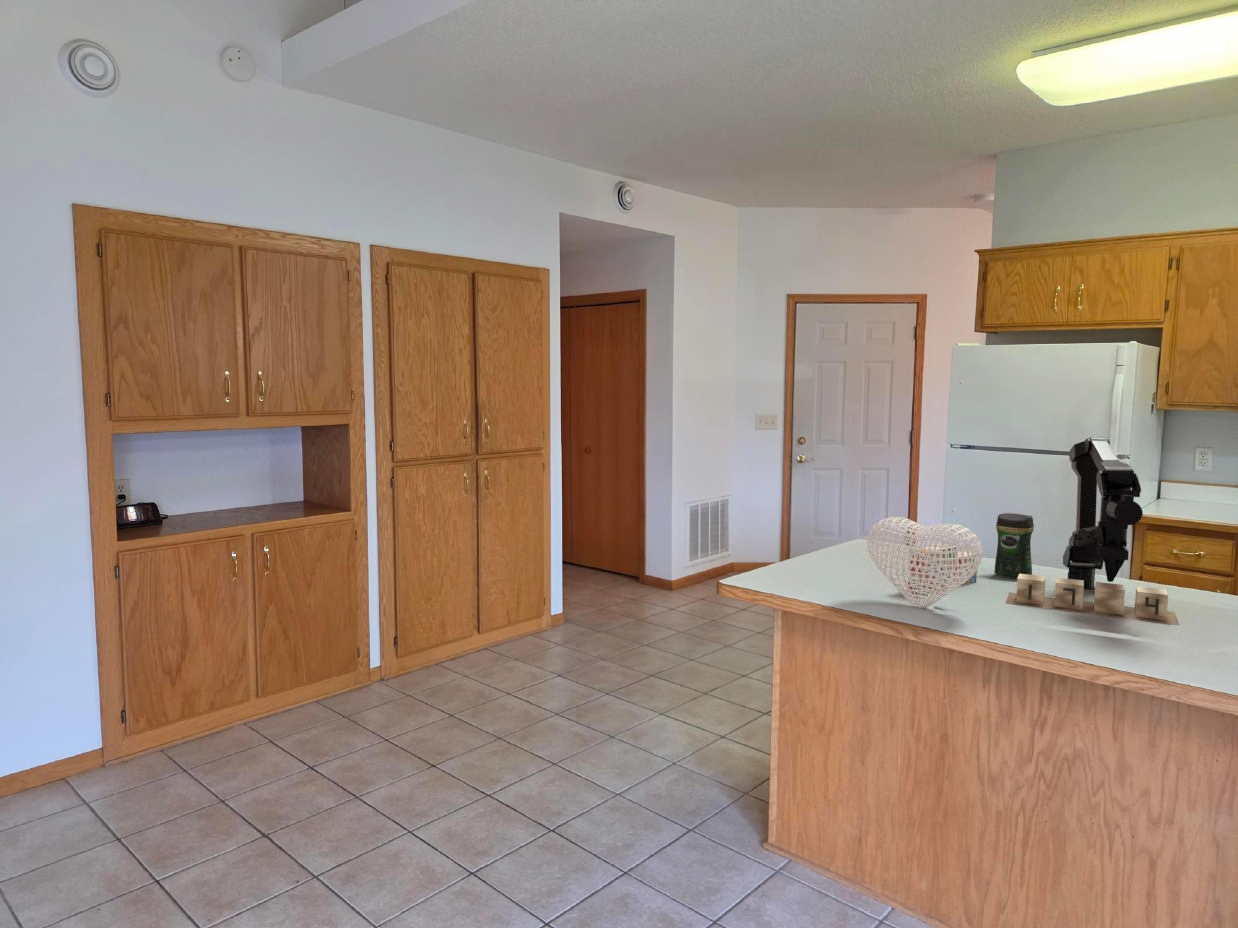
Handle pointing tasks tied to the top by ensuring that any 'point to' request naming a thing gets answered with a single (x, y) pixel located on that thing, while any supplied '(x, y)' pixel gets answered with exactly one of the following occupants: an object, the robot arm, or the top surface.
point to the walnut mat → (1089, 609)
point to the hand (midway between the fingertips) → (1110, 581)
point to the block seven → (1069, 593)
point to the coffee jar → (1013, 545)
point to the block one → (1030, 589)
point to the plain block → (1109, 598)
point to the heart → (919, 531)
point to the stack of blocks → (970, 580)
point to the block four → (1151, 603)
